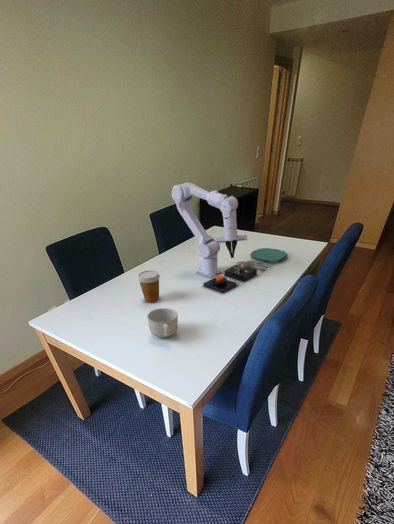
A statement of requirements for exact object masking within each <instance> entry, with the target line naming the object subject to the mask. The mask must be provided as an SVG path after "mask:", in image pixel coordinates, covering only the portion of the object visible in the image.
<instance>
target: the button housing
mask: <svg viewBox="0 0 394 524" xmlns="http://www.w3.org/2000/svg"><path fill="white" fill-rule="evenodd" d="M202 286H203V287H204V288H207V289H209V290H211V291H215V292H217V293H220V294H225V293H226V292H228V291H230V290H232V289H234V288H235V287H237V282H235V281H232V280H229V279H228V278H227V277H226V276H224V280H223V281H216V276H214V277H213V278H211V279H209V280H207V281H205V282H203V285H202Z"/></svg>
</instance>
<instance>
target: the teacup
mask: <svg viewBox="0 0 394 524" xmlns="http://www.w3.org/2000/svg"><path fill="white" fill-rule="evenodd" d="M178 317H179V314H178V312H177V311H176V310H175V309H172V308H170V307H169V308H168V307H162V308H161V307H160V308H155V309H152V310H151V311H149V312H148V313H147V316H146V318H147V323H148V328H149V331H150V333H151V334H152V335H153V336H156V337H157V338H168V337H171V336H172V335H174V334H175V333H176V332H177V330H178V326H179V325H178V322H179V321H178Z"/></svg>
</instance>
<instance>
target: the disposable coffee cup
mask: <svg viewBox="0 0 394 524" xmlns="http://www.w3.org/2000/svg"><path fill="white" fill-rule="evenodd" d="M160 276H161V275H160V274H159V272H158V271H156V270H153V269H148V270H147V269H146V270H143V271H141V272H139V273H138V274H137V278H136V279H137V281H138V283H139V285H140V288H141V292H142V295H143V298H144V301H145V303H149V304H152V303H153V304H154V303H157V302H159V300H160Z"/></svg>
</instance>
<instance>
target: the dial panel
mask: <svg viewBox="0 0 394 524" xmlns="http://www.w3.org/2000/svg"><path fill="white" fill-rule="evenodd" d="M223 273H224V274H223V276H224V277H225V278H230V279H233V280H236V281H239V282H242V283H244V282H246V281H248V280H249V279H252V278H253V277H255V276H257V275H258V269H255V268H251V267H247V266H245V270H244V271H237V264H234V265H233V266H231V267H228V268H226V269H225V270H224V271H223Z"/></svg>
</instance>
